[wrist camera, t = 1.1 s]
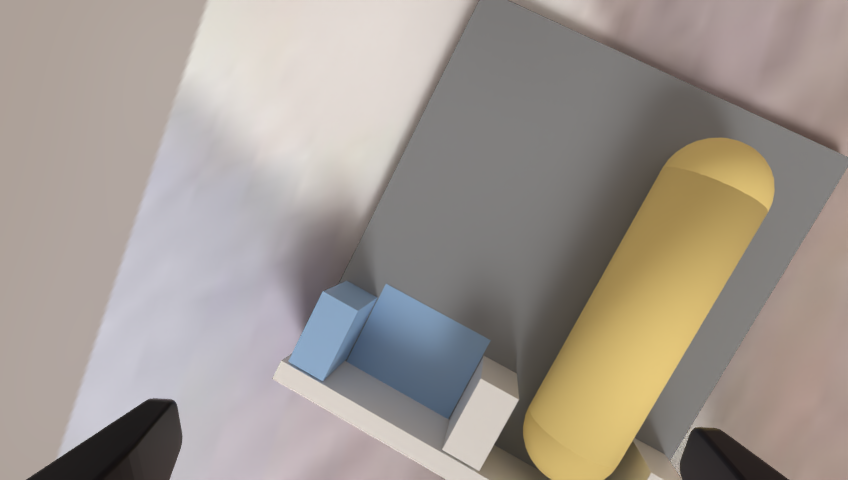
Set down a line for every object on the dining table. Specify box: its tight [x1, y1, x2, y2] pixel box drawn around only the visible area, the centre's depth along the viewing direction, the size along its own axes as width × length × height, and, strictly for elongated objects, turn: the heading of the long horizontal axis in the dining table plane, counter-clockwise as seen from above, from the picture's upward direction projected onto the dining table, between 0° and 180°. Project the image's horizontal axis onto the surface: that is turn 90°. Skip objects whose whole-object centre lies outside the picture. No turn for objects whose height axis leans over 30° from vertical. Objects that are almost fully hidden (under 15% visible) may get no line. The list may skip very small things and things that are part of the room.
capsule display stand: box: [272, 0, 848, 480], centre depth 20 cm, size 15×17×4 cm
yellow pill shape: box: [523, 138, 775, 480], centre depth 19 cm, size 14×4×4 cm, turn 153°
